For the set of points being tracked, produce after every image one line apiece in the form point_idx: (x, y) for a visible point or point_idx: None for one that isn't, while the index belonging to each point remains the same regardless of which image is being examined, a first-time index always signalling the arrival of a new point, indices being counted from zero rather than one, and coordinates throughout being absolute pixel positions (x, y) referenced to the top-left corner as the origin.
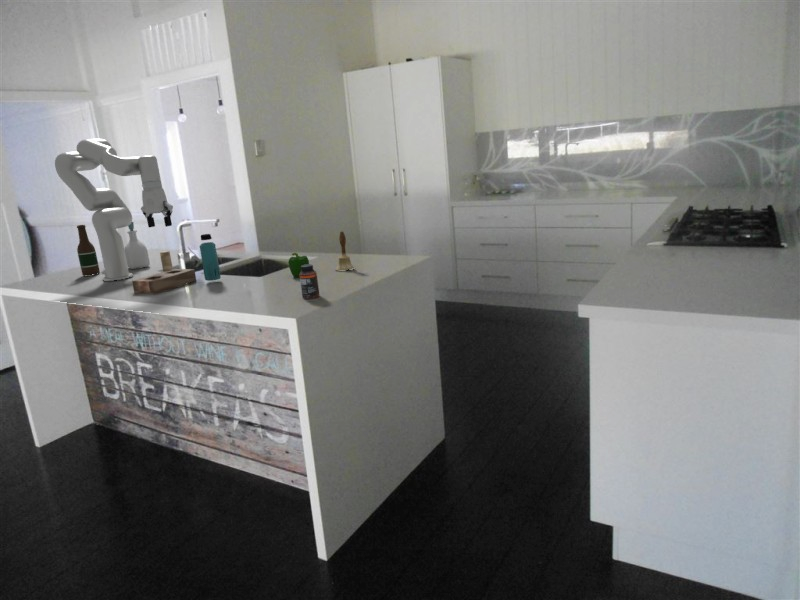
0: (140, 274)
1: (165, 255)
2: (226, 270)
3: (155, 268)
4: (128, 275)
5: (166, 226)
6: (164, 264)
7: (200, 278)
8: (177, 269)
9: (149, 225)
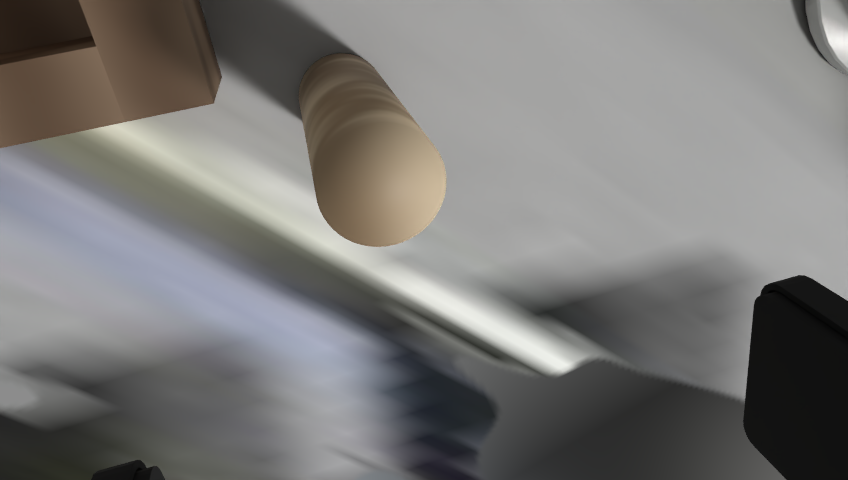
0: (814, 134)
1: (322, 144)
2: None
3: None
4: (835, 3)
5: (121, 468)
6: (335, 92)
7: (25, 219)
8: (109, 99)
9: (795, 311)
